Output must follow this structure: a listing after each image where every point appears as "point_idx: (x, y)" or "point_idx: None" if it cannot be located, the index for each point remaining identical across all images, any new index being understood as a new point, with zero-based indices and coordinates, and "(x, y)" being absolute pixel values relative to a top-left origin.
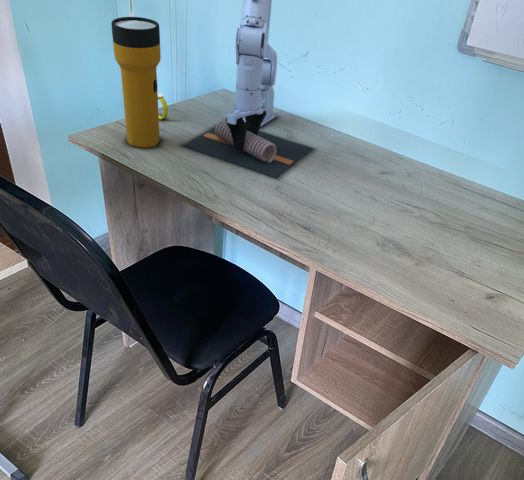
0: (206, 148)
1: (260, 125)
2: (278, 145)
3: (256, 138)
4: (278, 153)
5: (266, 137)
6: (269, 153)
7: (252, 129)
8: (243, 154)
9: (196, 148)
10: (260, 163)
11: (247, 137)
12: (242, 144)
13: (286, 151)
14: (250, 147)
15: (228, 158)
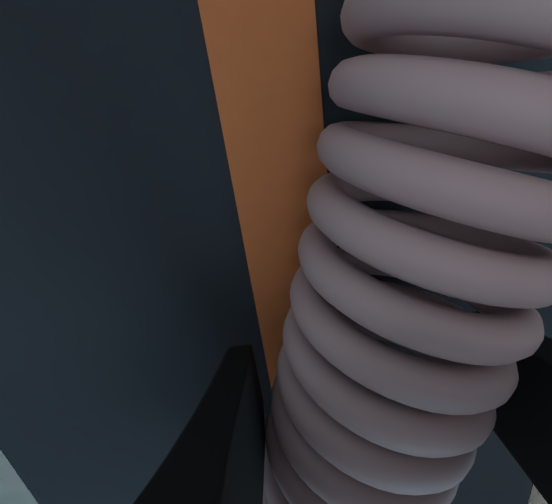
0: (484, 464)
1: (140, 496)
2: (13, 197)
3: (539, 273)
4: (150, 74)
5: (11, 359)
6: (381, 40)
7: (245, 477)
8: (417, 287)
9: (516, 487)
10: (494, 63)
11: (517, 383)
12: (548, 337)
13: (26, 34)
14: (540, 245)
15: (548, 314)
